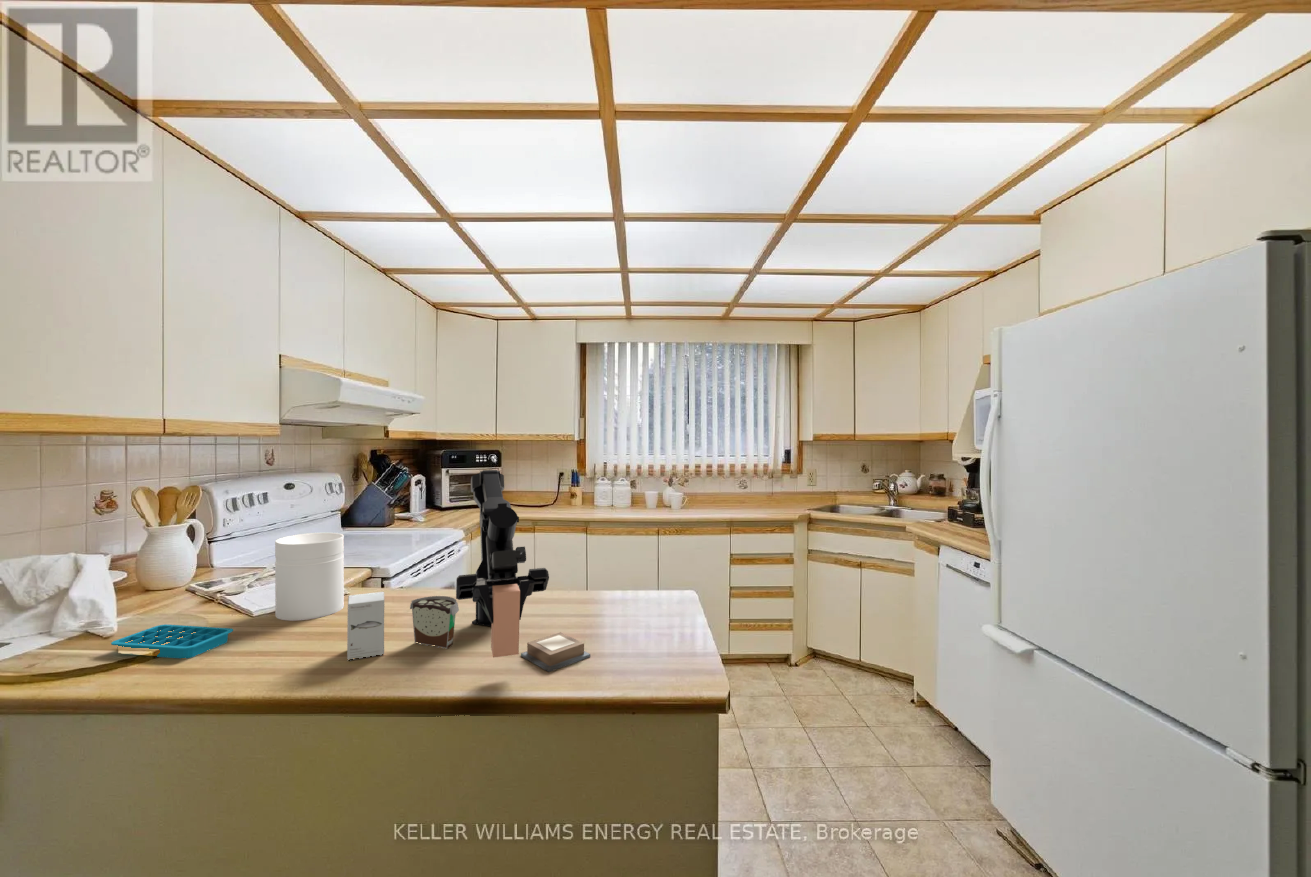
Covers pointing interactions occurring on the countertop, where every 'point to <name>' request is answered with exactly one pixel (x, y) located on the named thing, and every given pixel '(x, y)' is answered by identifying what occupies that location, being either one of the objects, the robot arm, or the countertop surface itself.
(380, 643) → the supplement box
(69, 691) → the countertop surface
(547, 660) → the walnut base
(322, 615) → the canister
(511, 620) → the terracotta block
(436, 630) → the food container
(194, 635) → the ice cube tray
